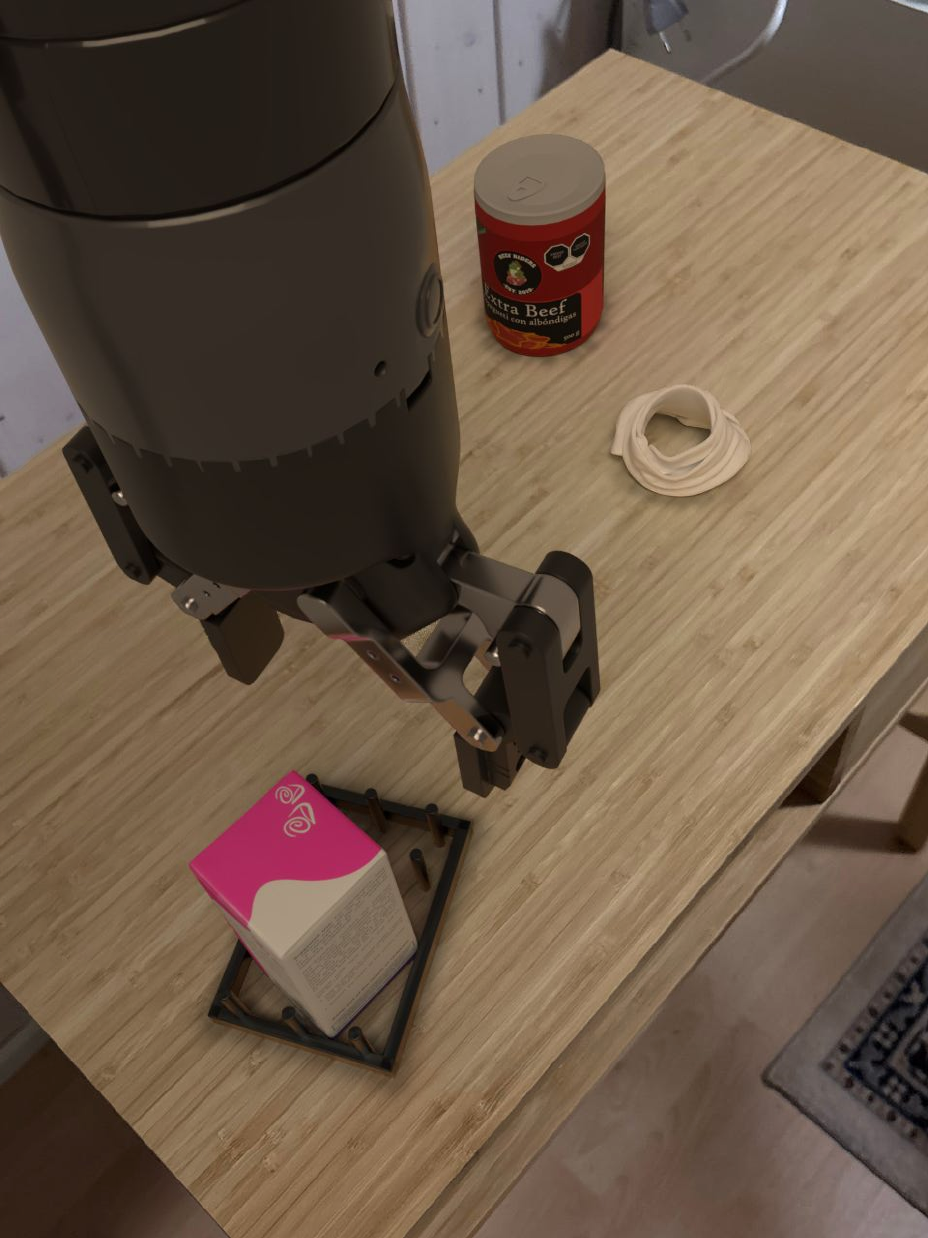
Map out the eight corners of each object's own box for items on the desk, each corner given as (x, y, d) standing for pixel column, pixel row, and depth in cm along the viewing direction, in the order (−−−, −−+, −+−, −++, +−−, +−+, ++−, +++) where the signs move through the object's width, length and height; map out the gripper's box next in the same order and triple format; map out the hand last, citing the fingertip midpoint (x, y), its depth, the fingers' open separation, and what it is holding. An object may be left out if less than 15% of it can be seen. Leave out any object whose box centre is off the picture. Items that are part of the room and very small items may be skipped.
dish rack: (394, 1079, 50) (381, 1057, 47) (213, 1022, 52) (188, 998, 49) (473, 830, 56) (466, 796, 53) (308, 789, 58) (291, 753, 55)
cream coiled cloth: (753, 439, 70) (771, 377, 66) (734, 516, 66) (752, 455, 62) (625, 410, 71) (635, 347, 67) (598, 484, 67) (608, 422, 63)
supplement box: (425, 948, 53) (391, 854, 44) (333, 1046, 51) (275, 969, 42) (341, 868, 56) (291, 763, 46) (249, 959, 54) (177, 868, 44)
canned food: (466, 343, 75) (450, 200, 66) (516, 267, 79) (507, 121, 70) (575, 372, 73) (573, 228, 64) (620, 292, 77) (625, 145, 68)
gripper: (-149, 323, 23) (119, 718, 36) (479, 576, 18) (519, 921, 32) (90, 116, 26) (254, 547, 40) (670, 284, 22) (633, 708, 35)
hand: (371, 712), depth 36 cm, fingers open, 8 cm apart
